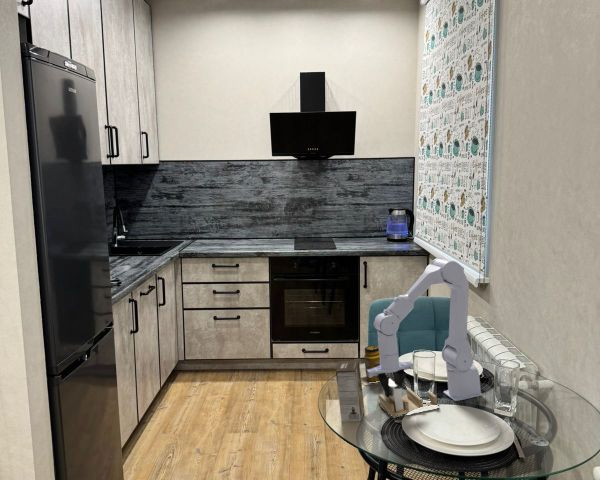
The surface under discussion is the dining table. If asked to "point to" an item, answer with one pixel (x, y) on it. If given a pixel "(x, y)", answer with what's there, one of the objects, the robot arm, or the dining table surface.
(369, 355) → the condiment
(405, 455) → the dining table surface
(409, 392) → the rack
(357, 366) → the coffee box
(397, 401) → the panel
